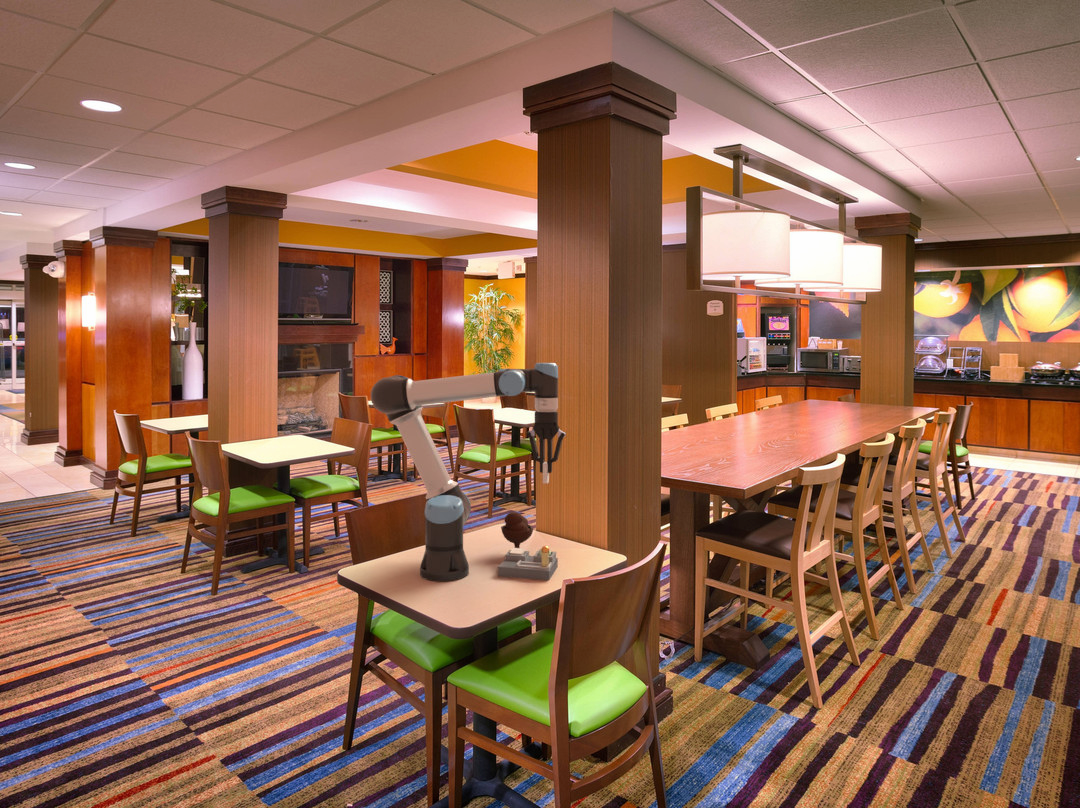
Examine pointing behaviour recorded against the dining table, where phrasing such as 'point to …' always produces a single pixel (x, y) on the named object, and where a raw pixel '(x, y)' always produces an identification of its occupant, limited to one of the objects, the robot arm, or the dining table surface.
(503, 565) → the console
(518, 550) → the rocker
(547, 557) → the brass lever
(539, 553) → the green button
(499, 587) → the dining table surface
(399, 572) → the dining table surface
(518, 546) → the ice cream bowl
